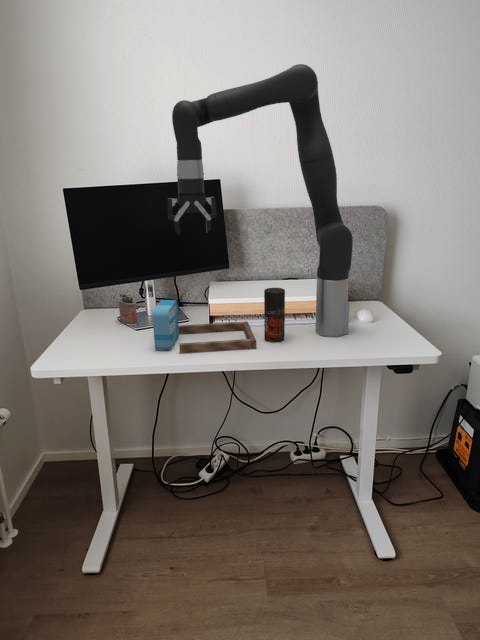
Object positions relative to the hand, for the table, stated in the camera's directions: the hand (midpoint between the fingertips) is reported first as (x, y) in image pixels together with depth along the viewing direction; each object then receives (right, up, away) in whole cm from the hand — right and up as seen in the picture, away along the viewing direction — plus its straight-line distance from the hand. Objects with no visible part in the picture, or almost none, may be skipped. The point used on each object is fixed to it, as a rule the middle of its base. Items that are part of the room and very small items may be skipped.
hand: (193, 233), depth 152 cm
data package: (-7, -33, -2) cm, 34 cm away
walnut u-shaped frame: (+6, -32, 0) cm, 32 cm away
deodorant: (+24, -31, 0) cm, 40 cm away
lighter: (-23, -27, +16) cm, 39 cm away
